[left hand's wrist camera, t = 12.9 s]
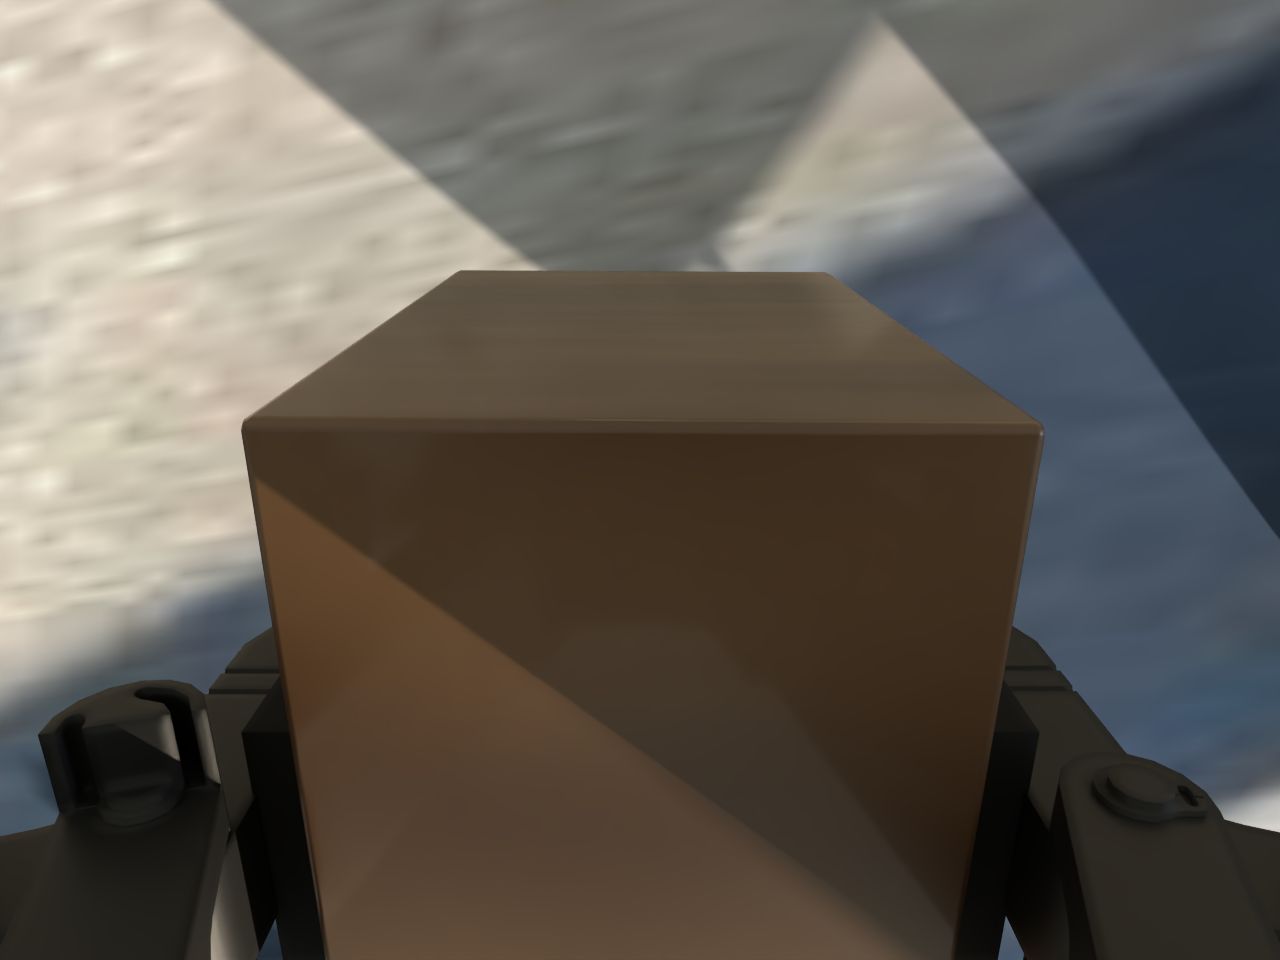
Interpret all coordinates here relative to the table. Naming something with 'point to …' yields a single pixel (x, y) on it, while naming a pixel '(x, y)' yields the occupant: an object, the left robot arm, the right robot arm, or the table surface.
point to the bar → (641, 619)
